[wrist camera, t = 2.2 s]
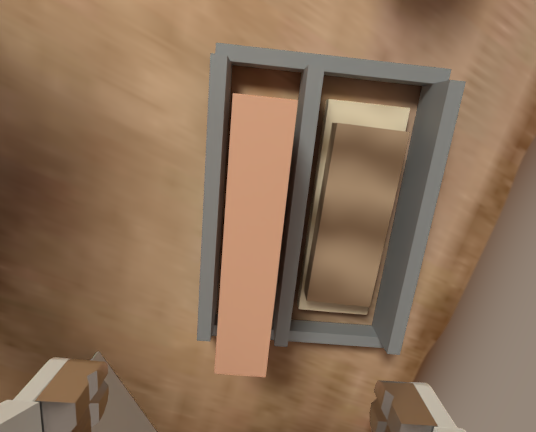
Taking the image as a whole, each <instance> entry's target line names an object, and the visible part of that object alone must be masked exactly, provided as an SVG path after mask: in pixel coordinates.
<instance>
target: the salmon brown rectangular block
mask: <svg viewBox="0 0 536 432" xmlns="http://www.w3.org/2000/svg"><path fill="white" fill-rule="evenodd" d="M297 104H298V100H293V99H284V98H274V97H265V96H256V95H246V94H237V93H233V98H232V113H231V129H230V144H229V159H228V174H227V189H226V204H225V219H224V235H223V250H222V265H221V280H220V295H219V310H218V325H217V341H216V356H215V371H214V374H227V375H242V376H257V377H266V370H267V362H268V353H269V344H270V336H271V327H272V319H273V310H274V301H275V293H276V284H277V276H278V267H279V259H280V250H281V241H282V233H283V224H284V216H285V207H286V198H287V190H288V181H289V173H290V164H291V156H292V147H293V138H294V130H295V121H296V113H297Z"/></svg>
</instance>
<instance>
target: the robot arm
mask: <svg viewBox="0 0 536 432" xmlns="http://www.w3.org/2000/svg"><path fill="white" fill-rule="evenodd" d="M107 374H108V364H107V363H106V362H104V361H93V360H82V359H68V358H57V357H54V358H52V359H49V360H48V361H47V362H46V364H45V365H44V366H43V367H42V368H41V369H40V370H39V371H38V372H37V374H36V375H35V376H34V377H33V378H32V379H31V380H30V381H29V382H28V384H27V385H26V386H25V387H24V388H23V389H22V390H21V391H20V392H19V394H18V395H17V396H16V397H15V398H14V399H13V400H6V401H4V402H2V403H0V432H91V427H93V426H94V425H95V424H97V423H98V422H99V421H100V419H101V418H102V416H103V414H104V411H105V408H106V405H107V402H108V395H109V386H108V385H107V383H106V382H105V381H104V379H105V378H106V376H107ZM374 392H375V395H376V397H377V398H376V399H375V400H374V401H373V402H372V403H371V407H370V426H371V431H372V432H467V431H465V430H464V429H460V428H457V427H456V425H455V423H454V422H453V420H452V419H451V417H450V416H449V414H448V412H447V411H446V409H445V408H444V406H443V405H442V403H441V402H440V400H439V399H438V397H437V396H436V394H435V393H434V391H433V390H432V388H431V386H430V385H428V384H427V383H419V382H410V383H409V382H395V381H377V383H376V385H375V389H374Z"/></svg>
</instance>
